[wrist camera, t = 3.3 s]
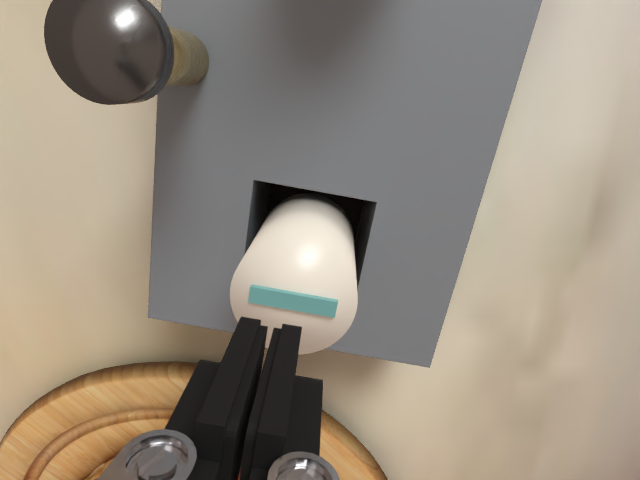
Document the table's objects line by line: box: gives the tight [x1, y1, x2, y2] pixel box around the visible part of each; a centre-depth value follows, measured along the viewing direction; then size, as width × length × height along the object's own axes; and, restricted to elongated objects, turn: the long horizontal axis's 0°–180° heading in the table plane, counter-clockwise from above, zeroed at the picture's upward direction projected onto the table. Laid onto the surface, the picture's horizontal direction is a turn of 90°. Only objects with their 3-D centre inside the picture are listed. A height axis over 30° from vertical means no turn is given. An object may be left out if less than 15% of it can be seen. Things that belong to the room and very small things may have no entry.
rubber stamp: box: [44, 0, 209, 105], centre depth 14 cm, size 3×3×6 cm
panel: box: [148, 0, 542, 368], centre depth 20 cm, size 14×24×6 cm, turn 170°
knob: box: [230, 193, 358, 355], centre depth 18 cm, size 4×4×7 cm
